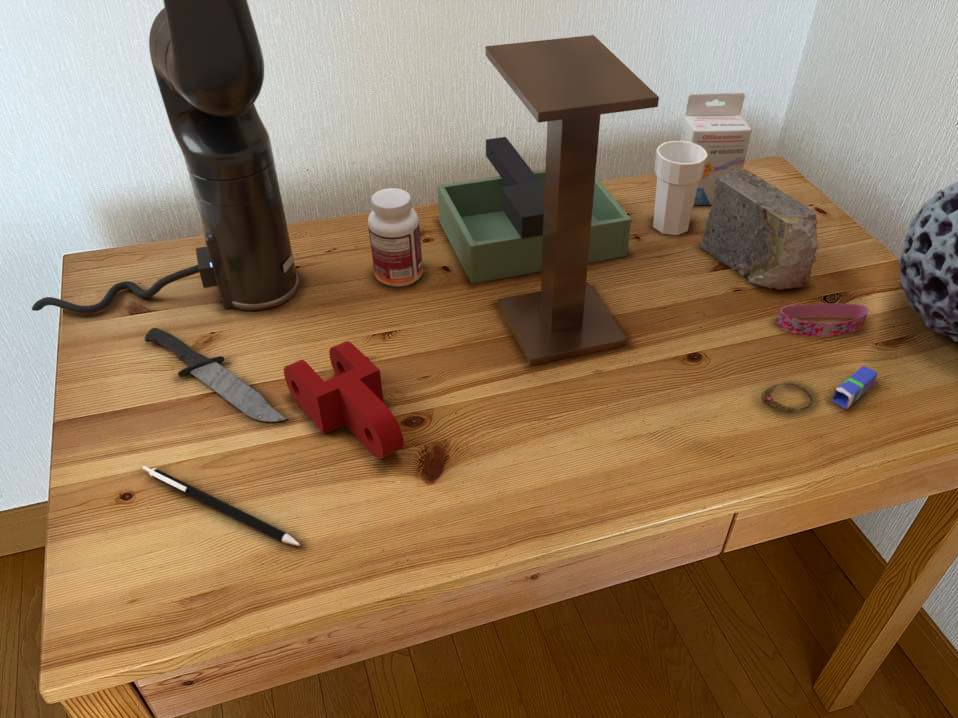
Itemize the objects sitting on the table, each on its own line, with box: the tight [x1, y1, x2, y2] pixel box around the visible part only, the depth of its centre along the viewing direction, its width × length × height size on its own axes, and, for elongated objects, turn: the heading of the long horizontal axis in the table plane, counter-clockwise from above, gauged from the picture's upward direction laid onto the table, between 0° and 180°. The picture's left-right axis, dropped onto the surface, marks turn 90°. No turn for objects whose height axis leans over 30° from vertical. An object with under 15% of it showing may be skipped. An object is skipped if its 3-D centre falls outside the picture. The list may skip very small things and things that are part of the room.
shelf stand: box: [485, 34, 660, 367], centre depth 94 cm, size 12×16×30 cm
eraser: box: [832, 365, 878, 410], centre depth 95 cm, size 2×6×2 cm
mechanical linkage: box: [283, 340, 405, 460], centre depth 88 cm, size 16×7×5 cm, turn 39°
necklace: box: [760, 383, 813, 413], centre depth 94 cm, size 4×6×1 cm, turn 110°
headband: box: [776, 303, 870, 338], centre depth 104 cm, size 11×4×2 cm, turn 94°
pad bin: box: [437, 168, 632, 285], centre depth 115 cm, size 22×16×6 cm
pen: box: [141, 465, 301, 547], centre depth 80 cm, size 1×19×1 cm
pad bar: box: [485, 136, 545, 239], centre depth 114 cm, size 8×22×3 cm, turn 21°
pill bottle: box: [367, 187, 424, 287], centre depth 106 cm, size 6×6×11 cm
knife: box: [144, 327, 288, 423], centre depth 94 cm, size 22×1×5 cm
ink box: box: [679, 92, 752, 206], centre depth 121 cm, size 8×5×15 cm, turn 98°
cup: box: [652, 140, 708, 236], centre depth 117 cm, size 7×7×11 cm
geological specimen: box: [700, 168, 819, 291], centre depth 110 cm, size 11×6×15 cm
